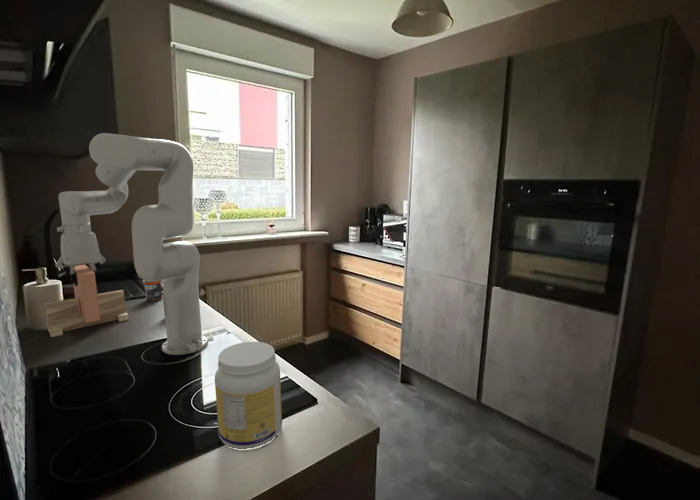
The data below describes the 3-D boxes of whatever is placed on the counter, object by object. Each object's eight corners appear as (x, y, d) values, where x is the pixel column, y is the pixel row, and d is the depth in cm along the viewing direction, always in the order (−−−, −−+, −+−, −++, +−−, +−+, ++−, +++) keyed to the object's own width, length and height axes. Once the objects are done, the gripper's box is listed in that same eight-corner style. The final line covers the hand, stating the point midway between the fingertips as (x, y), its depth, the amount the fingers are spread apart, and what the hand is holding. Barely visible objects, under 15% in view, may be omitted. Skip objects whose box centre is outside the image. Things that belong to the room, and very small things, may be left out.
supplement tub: (237, 410, 82) (232, 337, 79) (291, 417, 80) (288, 341, 77) (205, 449, 70) (199, 365, 67) (268, 458, 68) (264, 371, 65)
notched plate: (100, 319, 126) (94, 272, 123) (86, 322, 123) (79, 274, 120) (90, 307, 137) (84, 264, 134) (76, 310, 134) (70, 266, 131)
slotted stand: (129, 319, 135) (126, 292, 133) (51, 337, 120) (46, 307, 118) (122, 314, 141) (119, 287, 139) (47, 330, 126) (43, 301, 124)
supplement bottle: (154, 297, 161) (151, 271, 159) (165, 298, 159) (163, 272, 157) (142, 301, 156) (140, 274, 153) (154, 302, 154) (151, 275, 152)
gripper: (46, 233, 116) (54, 291, 119) (109, 228, 128) (115, 281, 131) (43, 230, 121) (51, 286, 125) (104, 226, 133) (110, 277, 136)
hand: (84, 283), depth 128 cm, fingers closed on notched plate, 4 cm apart
